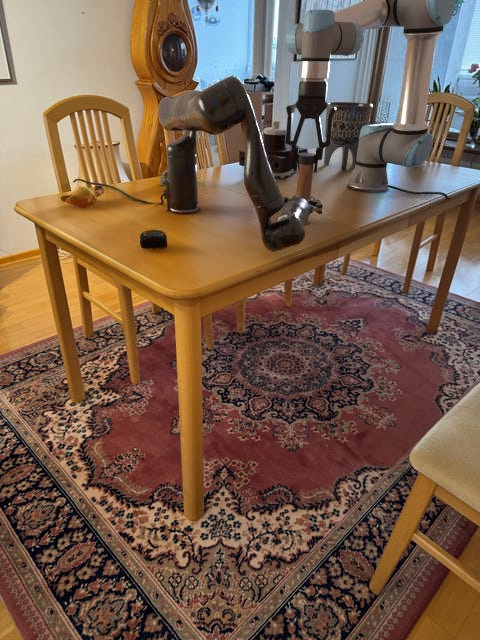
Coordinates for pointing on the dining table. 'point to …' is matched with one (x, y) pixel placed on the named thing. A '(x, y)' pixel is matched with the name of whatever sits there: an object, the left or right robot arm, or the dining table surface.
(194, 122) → the left robot arm
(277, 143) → the mechanical component
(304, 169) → the pinkish brown rounded rod
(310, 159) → the lid
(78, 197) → the toy
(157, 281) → the dining table surface
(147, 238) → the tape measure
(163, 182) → the rock
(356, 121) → the planter
